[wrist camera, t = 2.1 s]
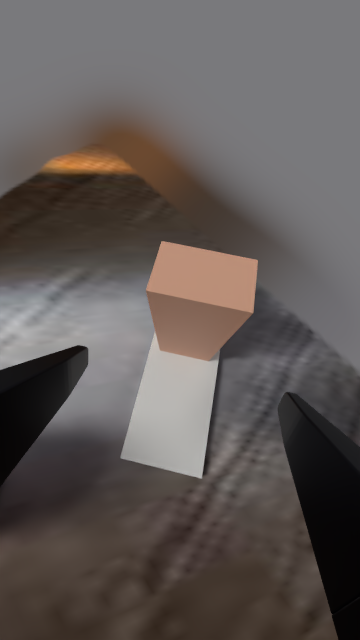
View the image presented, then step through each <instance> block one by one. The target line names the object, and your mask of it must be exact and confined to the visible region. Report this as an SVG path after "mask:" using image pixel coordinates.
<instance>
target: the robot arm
mask: <svg viewBox="0 0 360 640" xmlns="http://www.w3.org/2000/svg"><path fill="white" fill-rule="evenodd" d="M87 365H88V348H87V347H85V346H80V345H77V346H74V347H71V348H68V349H65V350H62V351H59V352H55V353H52V354H49V355H46V356H43V357H40V358H37V359H33V360H30V361H27V362H24V363H21V364H18V365H15V366H12V367H8V368H5V369H2V370H0V486H1V485H2V484H3V482H4V481H5V480H6V478H7V477H8V476H9V474H10V473H11V472H12V471H13V469H14V468H15V467H16V465H17V464H18V463H19V461H20V460H21V459H22V457H23V456H24V455H25V453H26V452H27V451H28V449H29V448H30V447H31V446H32V444H33V443H34V442H35V440H36V439H37V438H38V436H39V435H40V434H41V432H42V431H43V430H44V428H45V427H46V426H47V424H48V423H49V422H50V421H51V419H52V418H53V417H54V415H55V414H56V413H57V411H58V410H59V409H60V407H61V406H62V405H63V403H64V402H65V401H66V399H67V398H68V397H69V395H70V394H71V392H72V391H73V389H74V387H75V386H76V384H77V382H78V381H79V379H80V377H81V376H82V374H83V372H84V371H85V369H86V367H87ZM278 414H279V420H280V426H281V432H282V437H283V443H284V447H285V451H286V455H287V458H288V462H289V465H290V469H291V472H292V476H293V479H294V483H295V487H296V490H297V494H298V497H299V501H300V504H301V508H302V511H303V515H304V518H305V522H306V526H307V529H308V533H309V536H310V540H311V543H312V547H313V550H314V554H315V557H316V561H317V565H318V568H319V572H320V575H321V579H322V582H323V586H324V589H325V593H326V596H327V600H328V604H329V607H330V611H331V613H332V614H333V615H332V618H333V622H334V626H335V629H336V633H337V636H338V640H360V447H359V446H358V445H357V444H356V443H354V442H353V441H352V440H351V439H350V438H348V437H347V436H346V435H345V434H344V433H342V432H341V431H340V430H339V429H338V428H336V427H335V426H334V425H333V424H332V423H330V422H329V421H328V420H327V419H326V418H324V417H323V416H322V415H321V414H320V413H318V412H317V411H316V410H315V409H314V408H312V407H311V406H310V405H309V404H308V403H306V402H305V401H304V400H303V399H302V398H300V397H299V396H298V395H297V394H294V393H290V392H286V393H285V394H284V395H283V397H282V399H281V401H280V403H279V406H278Z"/></svg>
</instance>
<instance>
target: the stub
mask: <svg viewBox="0 0 360 640" xmlns="http://www.w3.org/2000/svg"><path fill="white" fill-rule="evenodd" d="M257 264H258V260H254V259H250V258H244V257H239V256H234V255H229V254H224V253H219V252H214V251H209V250H204V249H199V248H194V247H189V246H184V245H179V244H174V243H169V242H164V241H162V242H161V245H160V248H159V252H158V255H157V258H156V261H155V264H154V267H153V270H152V273H151V277H150V280H149V283H148V286H147V289H146V293H147V297H148V301H149V306H150V310H151V314H152V319H153V323H154V327H155V332H156V336H157V340H158V345H159V349H160V351H165V352H169V353H174V354H178V355H183V356H187V357H192V358H196V359H201V360H205V361H209V360H210V359H211V358H212V357H213V356H214V355H215V354H216V353H217V352H218V350H219V349H220V348H221V347H222V346H223V345H224V344H225V343H226V342H227V341H228V340H229V339H230V338H231V336H232V335H233V334H234V333H235V332H236V331H237V330H238V329H239V328H240V327H241V326H242V325H243V324H244V322H245V321H246V320H247V319H248V318H249V317H250V316H251V315H252V314H253V311H254V299H255V287H256V276H257Z"/></svg>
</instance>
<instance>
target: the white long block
mask: <svg viewBox="0 0 360 640" xmlns="http://www.w3.org/2000/svg"><path fill="white" fill-rule="evenodd" d="M219 354H220V349H219V350H218V352H217V353H216V354H215V355H214V356H213V357H212V358H211V359H210V360H209V361H205V360H201V359H196V358H192V357H187V356H183V355H178V354H174V353H169V352H165V351H160V349H159V345H158V340H157V336H156V332H155V334H154V337H153V341H152V344H151V348H150V352H149V355H148V359H147V363H146V366H145V370H144V373H143V377H142V381H141V384H140V388H139V392H138V395H137V399H136V402H135V406H134V410H133V413H132V417H131V421H130V424H129V428H128V431H127V435H126V439H125V442H124V446H123V450H122V453H121V457H120V458H121V459H125V460H129V461H133V462H137V463H141V464H145V465H149V466H153V467H157V468H162V469H166V470H170V471H174V472H178V473H182V474H186V475H190V476H194V477H198V478H202V473H203V466H204V459H205V452H206V445H207V438H208V431H209V424H210V417H211V410H212V403H213V396H214V389H215V382H216V375H217V368H218V361H219Z"/></svg>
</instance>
